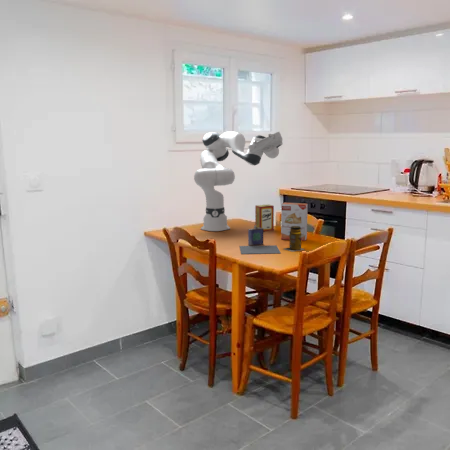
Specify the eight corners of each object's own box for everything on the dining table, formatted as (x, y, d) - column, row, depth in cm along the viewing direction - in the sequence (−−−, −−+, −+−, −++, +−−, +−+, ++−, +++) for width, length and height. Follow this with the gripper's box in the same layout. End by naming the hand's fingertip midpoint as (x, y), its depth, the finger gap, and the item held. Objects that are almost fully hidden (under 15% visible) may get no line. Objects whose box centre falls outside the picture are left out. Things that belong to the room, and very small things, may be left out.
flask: (249, 246, 255) (249, 226, 253) (247, 245, 257) (246, 225, 256) (264, 244, 259) (264, 225, 257) (261, 243, 261) (261, 224, 260)
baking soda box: (260, 231, 295) (260, 206, 292) (255, 229, 301) (255, 204, 298) (273, 230, 298) (273, 205, 295) (268, 228, 304) (268, 203, 301)
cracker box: (280, 239, 271) (281, 203, 267) (283, 237, 276) (283, 202, 272) (305, 241, 266) (305, 204, 262) (307, 239, 271) (307, 203, 268)
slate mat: (239, 246, 255) (239, 245, 255) (276, 245, 256) (276, 245, 256) (241, 254, 239) (241, 253, 238) (280, 253, 239) (280, 252, 239)
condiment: (304, 249, 247) (305, 227, 244) (292, 251, 242) (292, 228, 240) (295, 247, 253) (295, 224, 250) (283, 249, 248) (283, 226, 246)
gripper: (250, 148, 285) (243, 141, 272) (281, 133, 280) (276, 126, 267) (253, 157, 284) (247, 151, 271) (285, 143, 278) (280, 135, 265)
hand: (262, 138), depth 269 cm, fingers open, 8 cm apart
